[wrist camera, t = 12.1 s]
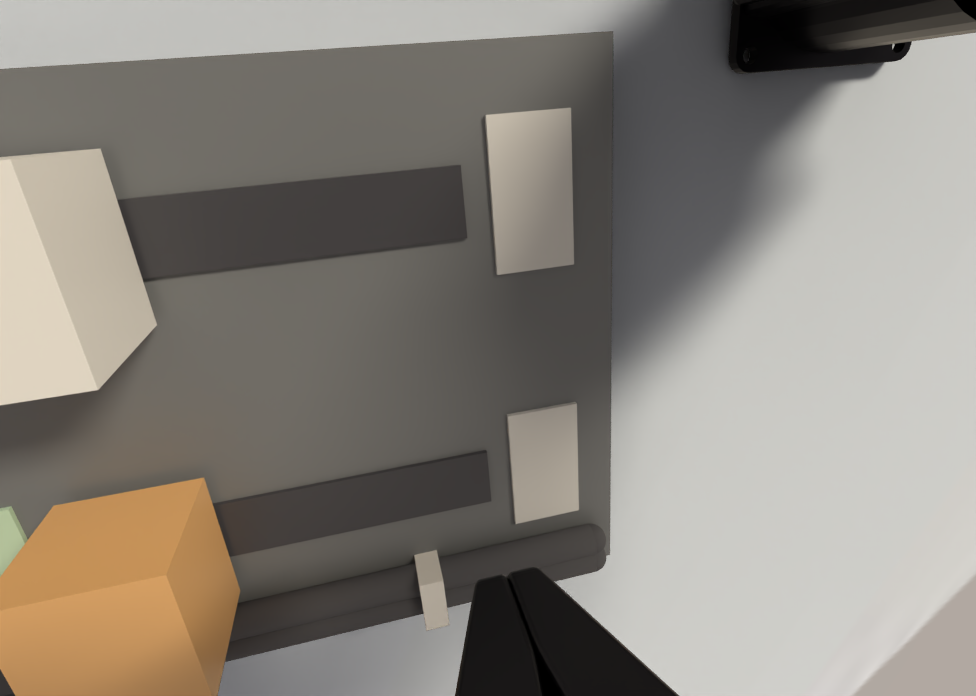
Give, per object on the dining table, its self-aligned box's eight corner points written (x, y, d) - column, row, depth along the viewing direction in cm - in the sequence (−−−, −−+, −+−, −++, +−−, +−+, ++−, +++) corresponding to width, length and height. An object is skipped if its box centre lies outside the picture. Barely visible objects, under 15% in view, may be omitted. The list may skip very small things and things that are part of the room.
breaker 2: (203, 477, 17) (166, 575, 13) (240, 590, 19) (215, 703, 15) (53, 505, 16) (-30, 616, 13) (105, 620, 18) (45, 747, 14)
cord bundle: (598, 513, 21) (616, 540, 20) (598, 555, 22) (615, 583, 21) (-45, 658, 18) (-77, 703, 16) (-17, 702, 18) (-46, 748, 17)
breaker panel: (585, 40, 17) (615, 30, 15) (589, 522, 24) (611, 557, 22) (-314, 98, 13) (-428, 94, 11) (2, 655, 20) (-35, 713, 18)
